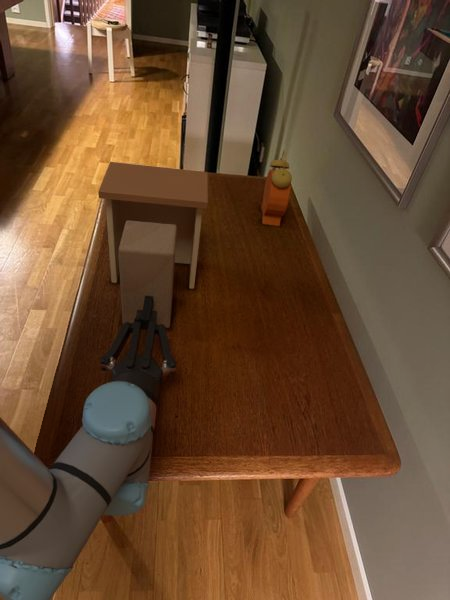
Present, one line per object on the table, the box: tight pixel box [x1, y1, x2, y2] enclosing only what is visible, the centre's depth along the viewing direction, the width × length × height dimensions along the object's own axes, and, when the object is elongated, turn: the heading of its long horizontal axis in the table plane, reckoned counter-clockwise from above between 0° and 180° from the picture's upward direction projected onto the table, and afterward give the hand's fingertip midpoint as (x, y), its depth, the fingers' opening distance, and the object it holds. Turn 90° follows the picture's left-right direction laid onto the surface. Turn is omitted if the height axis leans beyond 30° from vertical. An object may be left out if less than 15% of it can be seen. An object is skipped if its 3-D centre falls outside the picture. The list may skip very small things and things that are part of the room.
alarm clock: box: [260, 150, 293, 227], centre depth 120 cm, size 13×6×20 cm, turn 179°
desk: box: [97, 161, 209, 289], centre depth 90 cm, size 13×21×24 cm, turn 92°
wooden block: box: [118, 220, 177, 329], centre depth 82 cm, size 10×10×20 cm
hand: (149, 301), depth 80 cm, fingers closed
